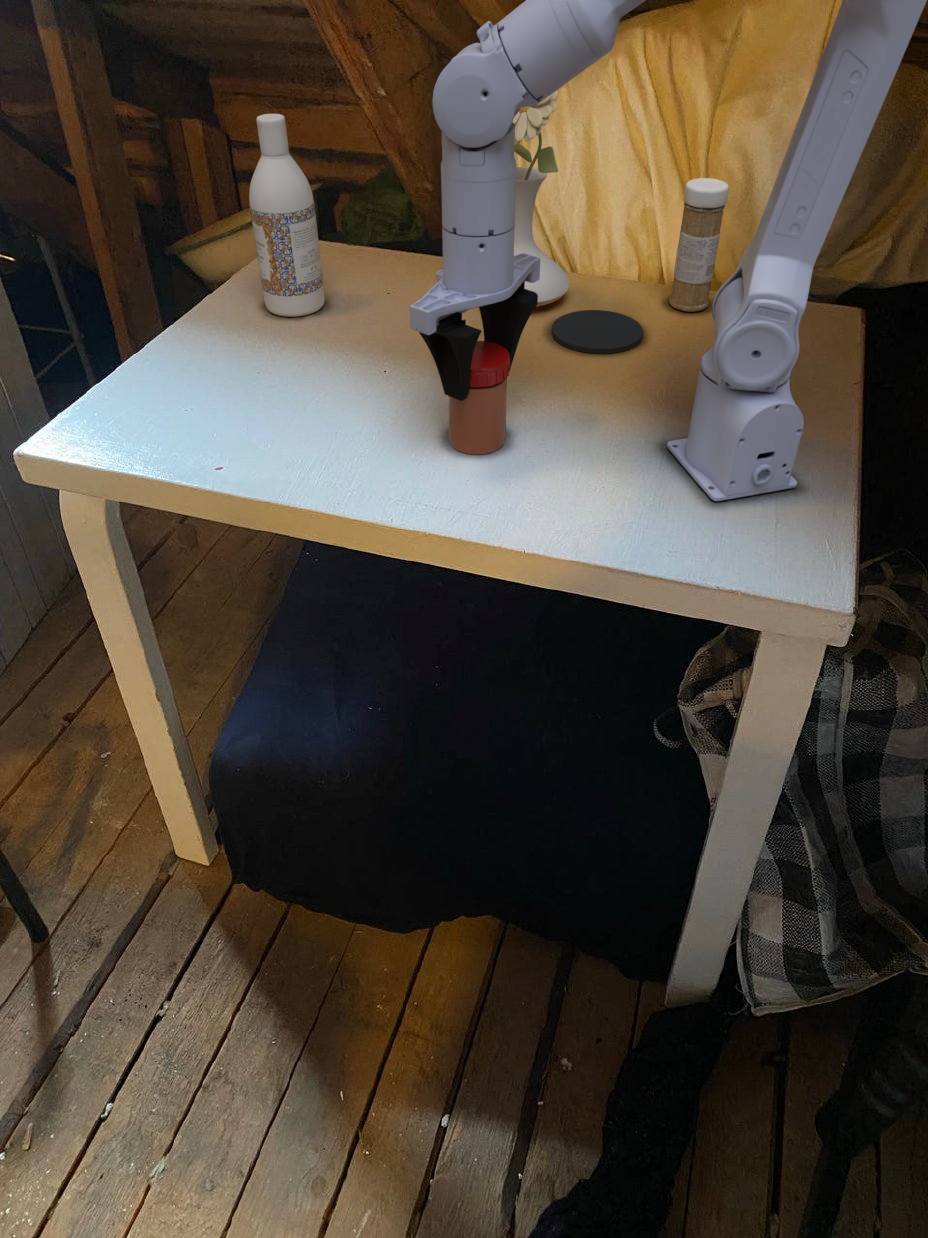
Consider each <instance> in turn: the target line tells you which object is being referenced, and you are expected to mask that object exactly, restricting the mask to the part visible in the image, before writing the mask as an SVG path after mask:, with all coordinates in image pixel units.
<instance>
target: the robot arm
mask: <svg viewBox="0 0 928 1238" xmlns="http://www.w3.org/2000/svg"><path fill="white" fill-rule="evenodd" d="M646 1H647V0H525V1H523V2H522V3H520V4H519V5H518V6H517V7H516V8H514V9H513V10H512V11H511V12H509V13H508V14H507V15H506V16H504V18H502V19H501V20H500V21H498V22H497V23H495V24H493V22H492V21H490V20H488V21H486V22H485V23H484V24H483V25H481V27H479V28H478V29H477V31H476V36H477V38H478V39H479V41H477V42H474V43H472V44H469V45H467V46H466V47H463V49H462V50H460V51H458V53H457V54H456V55H455V56H453V58H452V59H451V60H450V62H449V63H448V64H447V65H446V66H445V67H444V68H443V69H442V70H441V72H440V74H439V75H438V77H437V80H436V82H435V84H434V88H433V92H432V100H431V101H432V102H431V103H432V105H431V106H432V112H433V116H434V119H435V122H436V124H437V126H438V128H439V129H440V131H441V157H442V158H441V161H440V184H441V185H440V187H441V188H440V190H441V236H442V238H441V240H442V268H440V269H438V270H435V281H437V282H436V283H435V284H434V285H432V287H431V288H430V289H429V290H427V292H426V293H425V294H424V295H423V296H422V297H421V298H420V299H419V300H417V301H415V302H414V303H411V304H410V305H409V327H410V329H411V330H413V331H416V332H417V333H419V335H420V336H421V338H422V339H423V341H424V343H425V344H426V346H427V348H428V350H429V351H430V354H431V356H432V359H433V361H434V364H435V366H436V369H437V372H438V376H439V379H440V382H441V386H442V390H443V393H444V395H445V396H447V397H448V396H450V397H452V398H455V399H457V400H460V401H463V400H465V399H466V398H467V396H468V392H469V386H470V371H471V362H472V357H473V353H474V349H475V346H476V343H477V341H479V338H480V336H481V334H482V330H483V341H487V342H492V343H496V344H499V345H501V346H503V347H504V348H506V349H507V350H508V352H509V355H510V357H509V359H510V370H511V369H512V365H513V363H514V359H515V355H516V351H517V349H518V345H519V342H520V339H521V337H522V334H523V331H524V329H525V327H526V325H527V323H528V321H529V319H530V317H531V315H532V314H533V312H534V311H535V309H536V308H537V307H538V306H537V304H538V295H537V293H535V292H533V291H530V290H527V289H524V287H525V282H526V281H527V282H530V283H534V282H536V281H538V280H539V279H540V259H541V258H539V257H536V256H532V255H529V254H526V253H521V254H518V255H515V256H514V233H515V194H516V167H517V160H516V157H515V151H514V150H515V124H514V123H512V122H513V119H514V117H515V116H516V115H517V113H518V111H519V110H520V108H522V107H530V106H536V105H538V104H539V103H540V102H542V101H543V100H544V99H546V98H547V97H548V96H550V95H551V94H552V93H554V92H555V91H557V92H558V90H559V89H561V88H562V87H563V86H565V85H566V84H568V83H569V82H571V80H573V79H574V78H576V77H577V76H579V75H580V74H581V73H583V72H584V71H586V70H587V69H588V68H590V67H591V66H592V65H594V64H595V63H597V62H598V61H599V60H601V59H602V58H603V57H605V56H606V55H608V54H609V53H611V52H612V51H613V48H614V46H615V41H616V38H617V34H618V33H617V32H618V29H619V23H620V21H621V18H623V17H624V16H626V15H627V14H628V13H629V12H631V11H633V10H634V9H636V8H637V7H638V6H640V5H642V3H645V2H646ZM927 2H928V0H841V3H840V5H839V9H838V12H837V15H836V18H835V21H834V22H833V26H832V28H831V31H830V33H829V36H828V38H827V41H826V44H825V47H824V49H823V52H822V55H821V57H820V60H819V63H818V66H817V67H816V71H815V73H814V76H813V79H812V82H811V85H810V88H809V89H808V92H807V96H806V97H805V100H804V103H803V106H802V108H801V112H800V114H799V116H798V119H797V121H796V122H797V123H796V124H795V127H794V130H793V133H792V135H791V137H790V141H789V143H788V146H787V149H786V152H785V154H784V156H783V159H782V162H781V164H780V167H779V170H778V173H777V175H776V178H775V181H774V184H773V187H772V189H771V191H770V194H769V197H768V200H767V202H766V205H765V207H764V211H763V213H762V216H761V218H760V220H759V224H758V226H757V229H756V232H755V235H754V237H753V239H752V240H751V241H750V243H749V244H748V246H747V247H746V248H745V249H744V250H743V253H742V255H741V258H740V261H739V263H738V265H737V267H736V269H735V271H734V272H733V273H732V275H731V276H730V277H728V278H727V279H726V280H725V281H724V282H723V283H722V285H721V286H720V287H719V288H718V290H717V292H716V294H715V295H714V298H713V301H712V305H711V306H712V308H711V313H712V316H711V317H712V319H713V324H714V342H713V344H712V346H711V347H710V348H709V349H708V350H707V351H706V352H705V353H704V354H703V355H702V356H701V360H700V367H699V371H698V378H697V383H696V389H695V395H694V401H693V406H692V412H691V417H690V423H689V428H688V434H687V437H686V438H685V437H684V438H679V439H673V440H668V441H667V444H666V448H667V449H668V450H669V451H670V452H671V453H672V455H673V456H674V457H675V458H676V460H677V461H678V462H679V463H680V464H681V466H682V467H683V468H684V469H685V470H686V471H687V473H688V474H689V475H690V476H691V477H692V478H693V480H694V481H695V482H696V483H697V484H698V485H699V486H700V488H701V489H702V490H703V491H704V492H705V494H706V495H707V496H708V497H709V498H710V499H711V500H712V501H713V502H722V501H727V500H731V499H732V500H733V499H737V498H744V497H749V496H750V497H751V496H757V495H762V494H767V493H773V492H778V491H783V490H789V489H794V488H797V486H798V480H797V479H795V477H794V476H792V472H793V469H794V465H795V461H796V457H797V454H798V450H799V447H800V443H801V439H802V436H803V432H804V428H805V420H804V415H803V413H802V411H801V409H800V408H799V406H798V405H797V404H796V402H795V399H794V397H793V396H792V391H791V385H790V381H791V374H792V371H793V368H794V367H795V365H796V363H797V361H798V358H799V354H800V338H799V327H800V324H801V321H802V318H803V315H804V313H805V311H806V308H807V304H808V300H809V299H808V298H809V295H810V294H809V293H810V288H811V283H812V276H813V273H814V267H815V264H816V262H817V260H818V258H819V255H820V253H821V250H822V248H823V245H824V243H825V241H826V239H827V236H828V234H829V231H830V229H831V227H832V224H833V222H834V219H835V218H836V215H837V213H838V210H839V208H840V205H841V204H842V201H843V198H844V196H845V194H846V192H847V189H848V187H849V185H850V182H851V180H852V178H853V176H854V173H855V171H856V168H857V166H858V163H859V161H860V158H861V156H862V154H863V151H864V149H865V146H866V144H867V142H868V140H869V138H870V135H871V133H872V131H873V128H874V126H875V124H876V121H877V119H878V116H879V114H880V112H881V109H882V107H883V105H884V102H885V100H886V98H887V95H888V93H889V91H890V89H891V87H892V83H893V81H894V79H895V78H896V77H895V76H896V74H897V72H898V69H899V67H900V65H901V62H902V60H903V58H904V55H905V53H906V51H907V48H908V46H909V44H910V42H911V40H912V36H913V34H914V32H915V29H916V27H917V25H918V22H919V20H920V18H921V15H922V13H923V10H924V8H925V6H926V3H927ZM536 306H537V307H536ZM477 308H478V310H479V313H480V319H481V322H482V323H481V324H482V330H481V329H479V328H476V327H473V326H471V325H468V324H466V323H467V322H466V319H463V314H464V313H466V312H468V311H470V310H472V309H477Z"/></svg>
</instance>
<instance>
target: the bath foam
mask: <svg viewBox="0 0 928 1238" xmlns="http://www.w3.org/2000/svg"><path fill="white" fill-rule="evenodd" d="M255 121H256V127H257V134H258V141H259V149H260V153H261V154H260V158H259V160H258V162H257V165H256V167H255V169H254V171H253V174H252V177H251V179H250V180H251V181H250V184H249V192H248V193H249V194H248V201H249V211H250V216H251V223H252V230H253V236H254V243H255V249H256V255H257V262H258V268H259V274H260V282H261V288H262V293H263V300H264V304H265V307H266V310H268V311H269V312H270V313H271V314H274V315H276V316H281V317H289V318H290V317H292V318H293V317H295V318H296V317H302V316H307V315H311V314H313V313H316V312H318V311H320V309H322V307H323V306H324V305H325V301H326V299H325V289H324V277H323V269H322V260H321V250H320V240H319V233H318V232H319V231H318V224H317V216H316V215H317V213H316V206H315V199H314V196H313V195H314V194H313V191H312V188H311V185H310V182H309V180H308V177H306V175H305V173H304V171H303V170H302V169H301V167H300V166H299V165H298V163H297V162H296V160H295V159H294V158H293V156H292V155H291V154H290V150H289V141H288V131H287V124H286V117H285V115H283V114H280V113H264V114H261V115H258V116H257V117H256V120H255Z"/></svg>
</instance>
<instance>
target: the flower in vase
mask: <svg viewBox="0 0 928 1238" xmlns="http://www.w3.org/2000/svg"><path fill="white" fill-rule="evenodd" d="M558 95H559V91H558V90H557V91H555V92H554V93H552V94H551V95H550V96H548V97H547V98H546V99H544V100H543V101H542V102H540V103H539V104H538V105H536V106H530V107H522V108H520V110H519V111H518V113H517V115H516V116H515V117H514V119H513V122H512V123H514V124H515V150H514V153H516V154H517V155H518V156H519V157H521V158H522V159H523V160H525V161H526V162H527V163H530V164H529V166H516V194H515V233H514V256H515V255H518V254H521V253H526V254H529V255H532V256H536V257H539V258H541V259H540V279H539V280H538V281H536V282H534V283H530V282H527V281H526V282H525V287H524V289H527V290H530V291H533V292H535V293H537V295H538V304H537V306H536V308H538V307H540V306H545V305H550V304H552V303H555V302H557V301H558V300H560V299H562V297H564V296H565V294H566V292H567V291H568V290H569V287H570V282H569V278H568V276H567V273H566V272H565V271H564V270H563V268H562V267H561V266H560V265H559V264H558V263H557V262H555V261H554V260H553V258H551V257H550V256H549V255H547V254H546V253H545V252H544V251H543V250H542V249H541V248H540V247H538V245H537V244H536V242H535V238H534V233H533V221H534V210H535V204H536V200H537V195H538V193H539V189H540V188H541V186H542V184H543V183H544V181H545V180H546V179H547V177H548V174H552V173H558V172H559V168H558V164H557V161H556V156H555V151H554V148H553V146H546V147H543V148H542V146H543V138H542V137H543V136H542V130H543V129H542V127H545V126H547V124H548V123H549V120H550V117H551V115H552V114H553V113H554V112H555V111H556V110H557V106H558V105H557V102H556V100H557V98H558ZM535 137H537V138H538V139H537V140H538V144H537V145H538V146H537V150H536V152H535V154H534V157H533V158H532V153H531V152H530V151H529V150H528V149H527V148H526V147H525V146H523V145H522V144H521V142H522V141H523V140H524V141H525V142H526V143H528V142H530V141H531V140H533V139H534V138H535ZM536 161H537V167H534V165H535V164H536Z"/></svg>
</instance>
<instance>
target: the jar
mask: <svg viewBox="0 0 928 1238" xmlns="http://www.w3.org/2000/svg"><path fill="white" fill-rule="evenodd" d="M507 389H508V377H507V378H506V379H505V380H504V381H502V382H501V383H498V384H496V385H492V386H487V387H469V392H468V396H467V398H466V399H465V400H463V401H460V400H457V399H455V398H452V397H450V396H447V397H448V441H449V443H450V446H451V447H452V448H453V449H455V450H456V451H458V452H461V453H463V454H468V455H478V456H479V455H488V454H491V453H495V452H496V451H499V450H500V449H502V447H504V445H505V443H506V437H507V397H508V396H507V395H508V390H507Z"/></svg>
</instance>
